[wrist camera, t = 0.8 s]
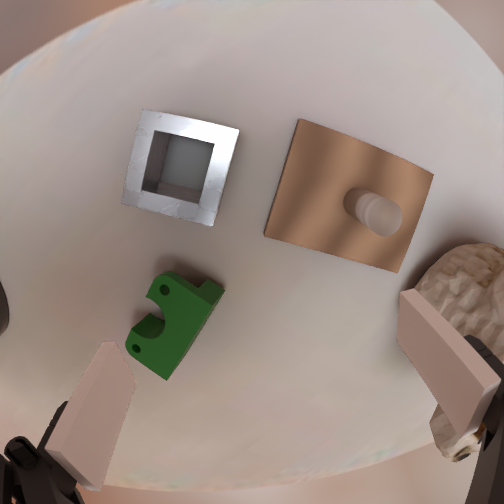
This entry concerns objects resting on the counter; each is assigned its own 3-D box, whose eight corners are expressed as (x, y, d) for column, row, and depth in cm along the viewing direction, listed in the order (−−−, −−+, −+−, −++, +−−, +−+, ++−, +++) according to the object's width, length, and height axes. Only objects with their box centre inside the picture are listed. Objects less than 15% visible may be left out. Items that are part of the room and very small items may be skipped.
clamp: (185, 263, 37) (168, 253, 28) (227, 290, 37) (222, 289, 28) (135, 343, 35) (107, 356, 26) (175, 370, 35) (156, 392, 26)
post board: (263, 233, 31) (270, 262, 24) (298, 119, 28) (317, 110, 20) (393, 269, 33) (427, 301, 26) (429, 173, 30) (473, 184, 22)
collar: (142, 192, 30) (121, 203, 24) (160, 115, 27) (142, 108, 21) (217, 211, 31) (212, 226, 25) (239, 133, 28) (239, 130, 22)
